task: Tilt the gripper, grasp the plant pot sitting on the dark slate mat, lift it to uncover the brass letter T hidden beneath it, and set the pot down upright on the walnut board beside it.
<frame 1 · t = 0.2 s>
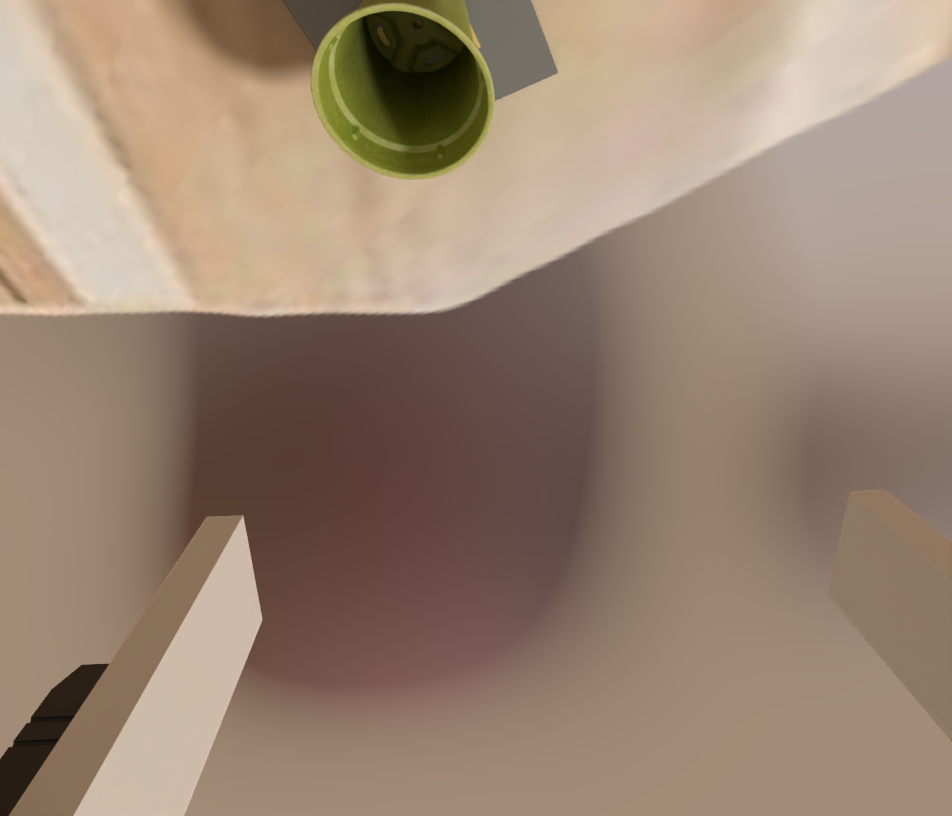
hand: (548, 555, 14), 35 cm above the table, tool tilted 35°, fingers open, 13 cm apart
plant pot: (416, 18, 38), resting on slate mat
slate mat: (416, 18, 38), on the table
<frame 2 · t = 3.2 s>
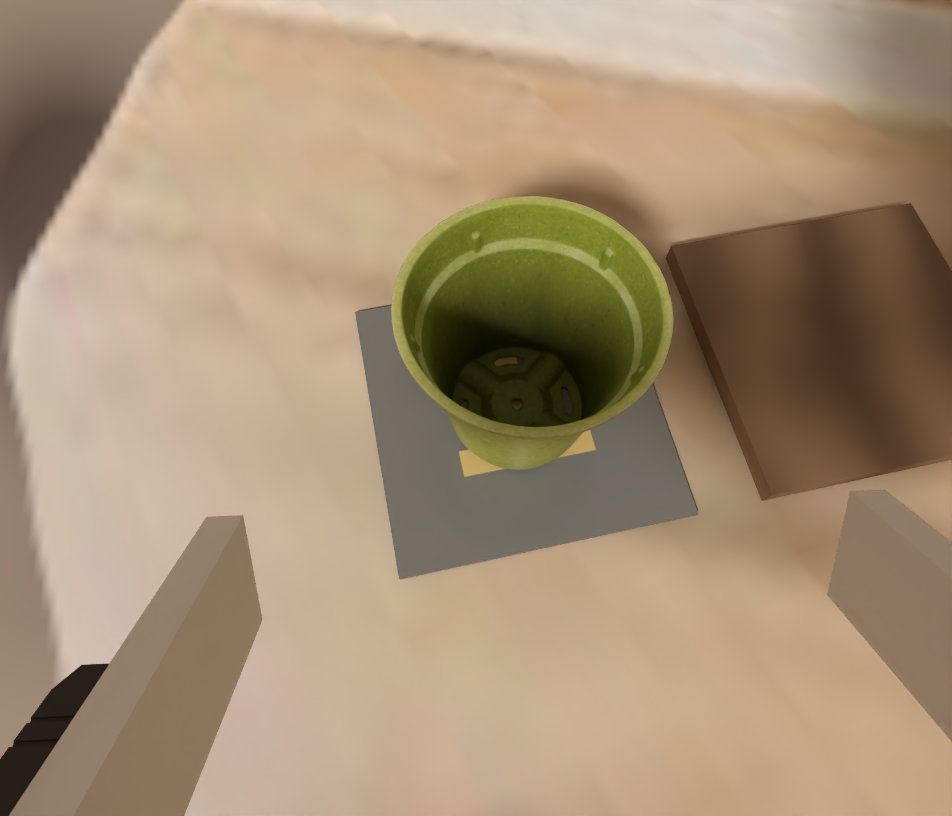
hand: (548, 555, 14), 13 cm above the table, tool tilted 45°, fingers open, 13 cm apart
plant pot: (515, 407, 30), resting on slate mat
walnut board: (837, 344, 31), on the table
slate mat: (515, 408, 30), on the table
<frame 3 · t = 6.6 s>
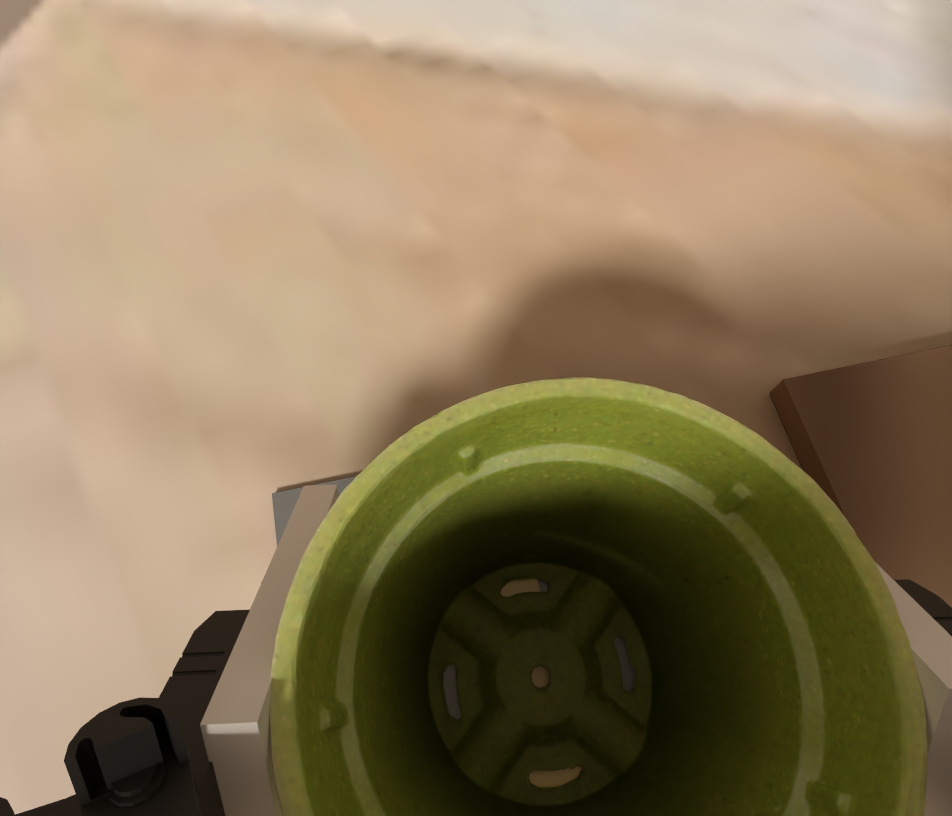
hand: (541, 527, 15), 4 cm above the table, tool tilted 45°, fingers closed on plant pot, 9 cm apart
plant pot: (537, 672, 17), resting on slate mat, touching gripper
slate mat: (536, 672, 17), on the table
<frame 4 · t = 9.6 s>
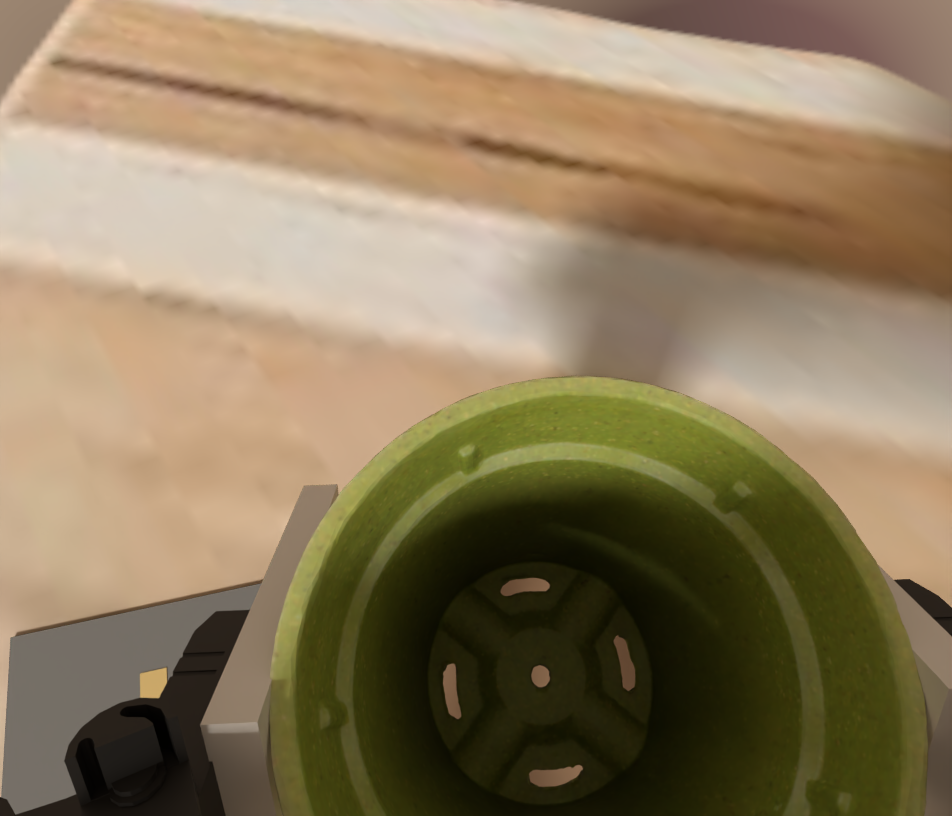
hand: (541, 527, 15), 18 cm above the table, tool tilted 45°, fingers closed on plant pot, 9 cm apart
plant pot: (537, 672, 17), point 14 cm above the table, touching gripper
walnut board: (506, 672, 30), on the table
slate mat: (157, 755, 29), on the table
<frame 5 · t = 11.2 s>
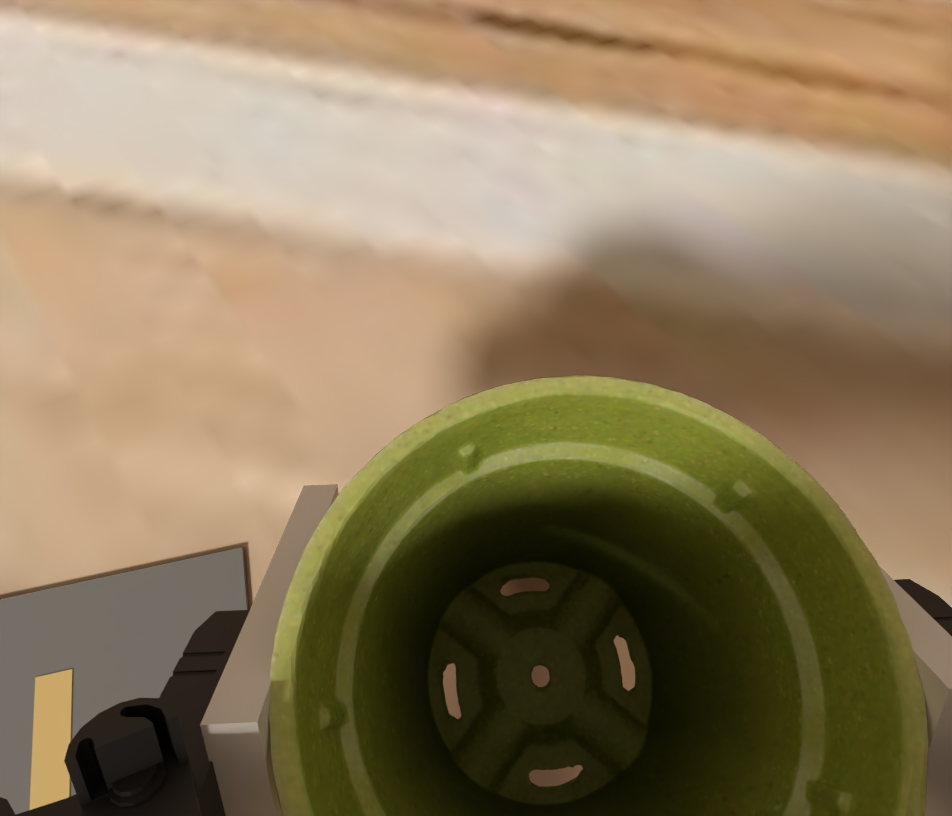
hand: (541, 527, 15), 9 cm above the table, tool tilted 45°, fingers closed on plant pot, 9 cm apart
plant pot: (537, 671, 17), point 5 cm above the table, touching gripper
walnut board: (539, 675, 22), on the table
slate mat: (54, 792, 20), on the table
when the fingers open (6 cm above the table, at t = 12.6 s): plant pot drops 2 cm, resting on walnut board.
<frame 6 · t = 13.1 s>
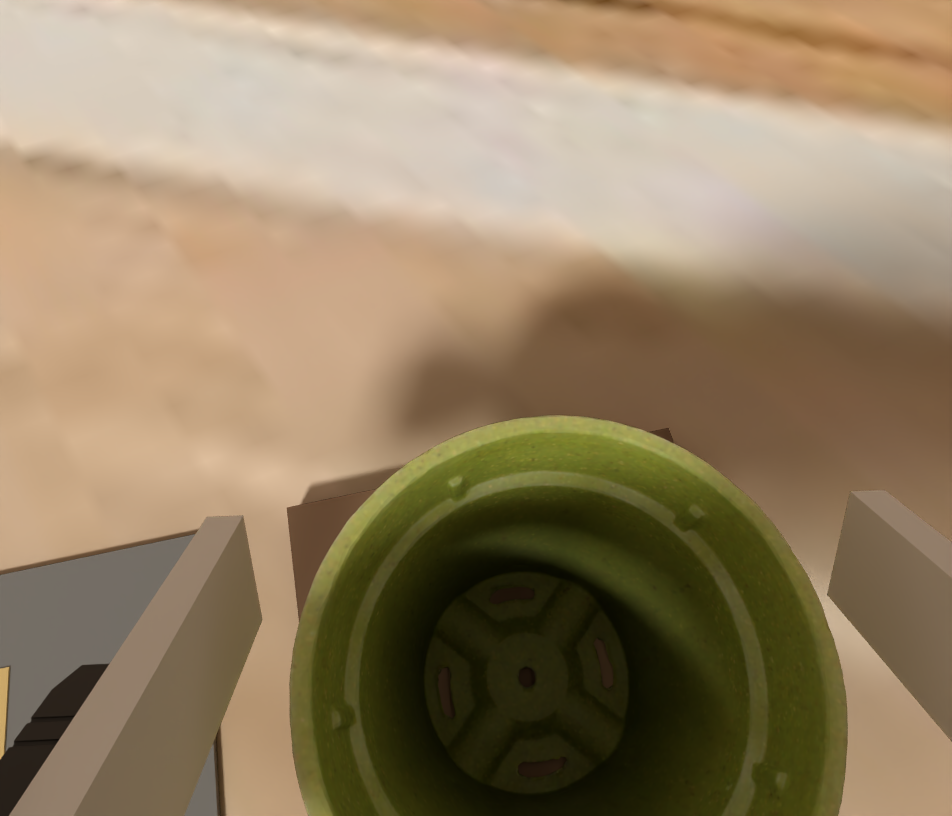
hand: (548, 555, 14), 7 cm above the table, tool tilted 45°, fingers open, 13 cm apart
plant pot: (524, 673, 19), point 1 cm above the table, touching walnut board
walnut board: (528, 673, 20), on the table
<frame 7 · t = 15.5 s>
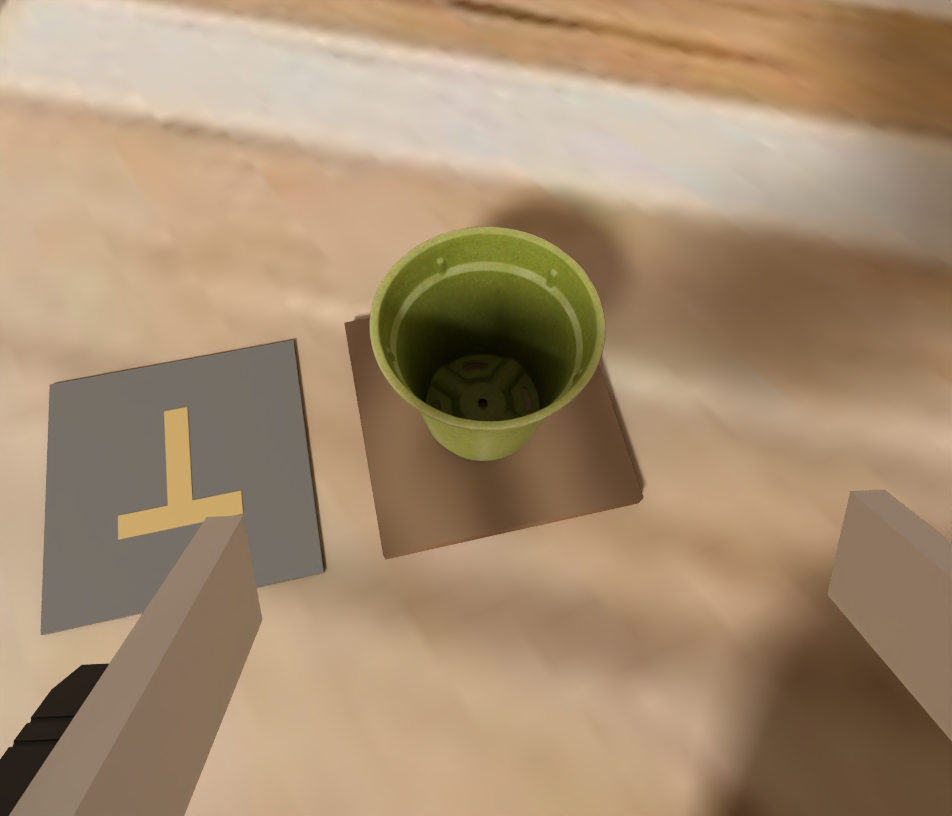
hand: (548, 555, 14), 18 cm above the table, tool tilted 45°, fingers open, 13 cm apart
plant pot: (481, 407, 34), point 1 cm above the table, touching walnut board
walnut board: (485, 413, 34), on the table
slate mat: (180, 474, 33), on the table
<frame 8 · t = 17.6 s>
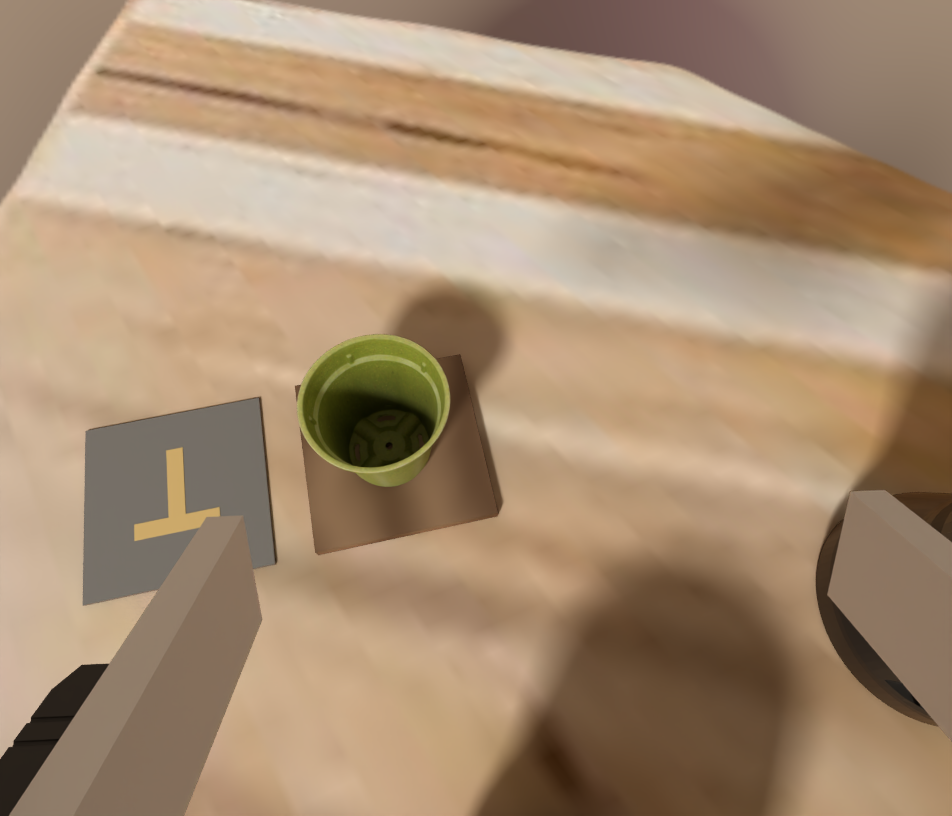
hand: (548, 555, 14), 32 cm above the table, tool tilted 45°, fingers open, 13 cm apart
plant pot: (390, 447, 48), point 1 cm above the table, touching walnut board
walnut board: (393, 451, 48), on the table
slate mat: (177, 495, 47), on the table
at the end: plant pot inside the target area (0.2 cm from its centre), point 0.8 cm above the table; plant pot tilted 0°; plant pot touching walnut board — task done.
